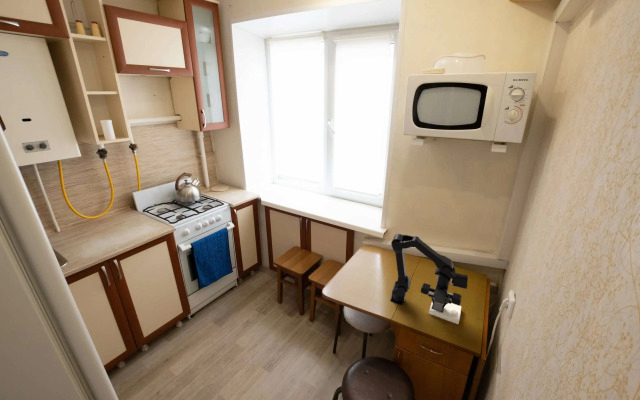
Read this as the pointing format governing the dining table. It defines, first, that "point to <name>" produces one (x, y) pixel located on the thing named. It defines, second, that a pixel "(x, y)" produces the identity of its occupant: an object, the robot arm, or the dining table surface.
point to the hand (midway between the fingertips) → (438, 306)
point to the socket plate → (447, 312)
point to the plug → (437, 306)
